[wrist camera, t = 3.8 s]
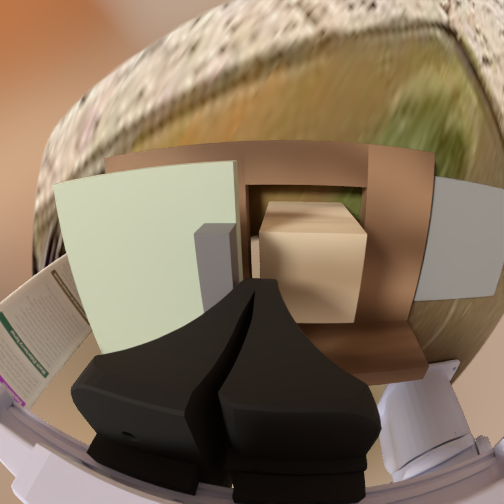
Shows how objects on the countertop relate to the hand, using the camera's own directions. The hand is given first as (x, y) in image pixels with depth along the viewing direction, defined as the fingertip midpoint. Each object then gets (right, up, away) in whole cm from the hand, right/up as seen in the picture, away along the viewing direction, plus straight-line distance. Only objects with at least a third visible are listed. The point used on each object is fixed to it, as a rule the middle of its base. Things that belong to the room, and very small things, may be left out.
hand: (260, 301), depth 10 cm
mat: (+16, +3, +5) cm, 17 cm away
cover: (-5, 0, +2) cm, 6 cm away
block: (+3, +3, +7) cm, 8 cm away
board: (+1, +2, +7) cm, 8 cm away
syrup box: (-15, 0, +11) cm, 18 cm away
